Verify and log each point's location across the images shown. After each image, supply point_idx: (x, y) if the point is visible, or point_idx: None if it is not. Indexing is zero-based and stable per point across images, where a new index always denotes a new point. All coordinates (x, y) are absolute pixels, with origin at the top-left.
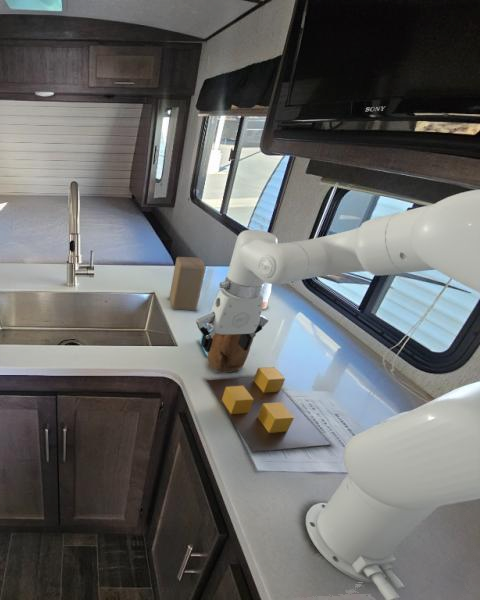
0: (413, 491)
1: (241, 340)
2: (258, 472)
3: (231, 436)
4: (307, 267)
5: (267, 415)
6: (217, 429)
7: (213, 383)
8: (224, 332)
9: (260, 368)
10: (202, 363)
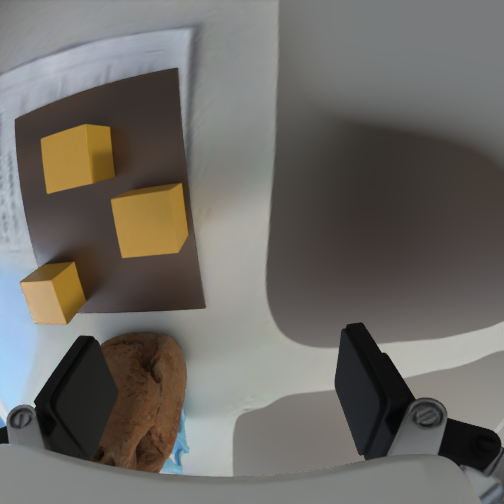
0: None
1: (100, 402)
2: (192, 24)
3: (210, 110)
4: None
5: (95, 151)
6: (240, 132)
7: (190, 295)
8: (372, 492)
9: (62, 321)
10: (197, 362)
